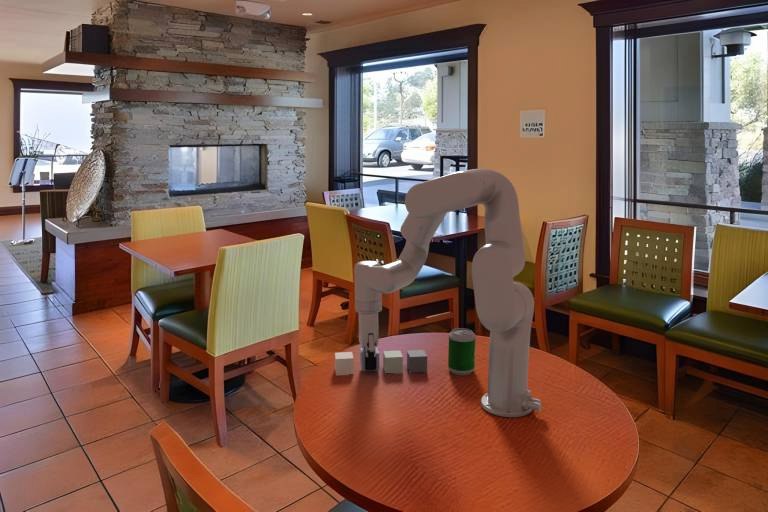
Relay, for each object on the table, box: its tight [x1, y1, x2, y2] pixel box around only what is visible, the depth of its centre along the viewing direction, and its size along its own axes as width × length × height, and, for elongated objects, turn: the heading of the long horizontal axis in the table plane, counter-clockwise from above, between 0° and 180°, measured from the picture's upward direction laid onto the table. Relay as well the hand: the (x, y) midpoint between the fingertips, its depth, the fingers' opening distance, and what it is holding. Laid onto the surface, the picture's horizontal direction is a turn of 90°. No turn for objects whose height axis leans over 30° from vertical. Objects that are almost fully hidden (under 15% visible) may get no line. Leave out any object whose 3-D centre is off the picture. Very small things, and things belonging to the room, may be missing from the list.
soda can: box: [447, 327, 477, 376], centre depth 161 cm, size 8×8×12 cm
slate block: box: [359, 346, 381, 372], centre depth 162 cm, size 5×5×5 cm
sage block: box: [382, 350, 404, 375], centre depth 163 cm, size 5×5×5 cm
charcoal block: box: [406, 349, 428, 373], centre depth 164 cm, size 5×5×5 cm
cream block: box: [334, 351, 355, 376], centre depth 162 cm, size 5×5×5 cm
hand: (369, 365), depth 162 cm, fingers closed on slate block, 4 cm apart
